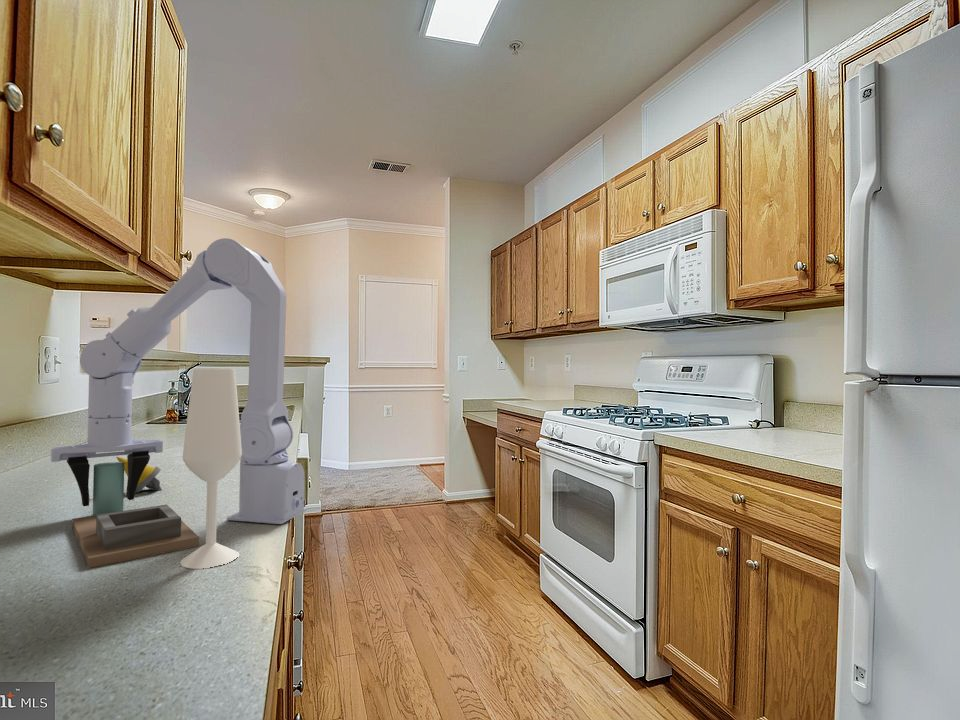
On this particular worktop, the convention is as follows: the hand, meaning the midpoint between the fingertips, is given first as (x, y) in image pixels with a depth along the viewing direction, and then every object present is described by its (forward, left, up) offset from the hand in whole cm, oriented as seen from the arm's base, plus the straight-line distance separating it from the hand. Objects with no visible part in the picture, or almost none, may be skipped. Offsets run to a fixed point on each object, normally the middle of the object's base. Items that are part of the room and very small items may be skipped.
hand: (108, 501), depth 84 cm
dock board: (-12, +8, -2) cm, 15 cm away
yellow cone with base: (+6, -13, -2) cm, 14 cm away
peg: (0, 0, -2) cm, 2 cm away
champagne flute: (-28, +13, -2) cm, 31 cm away
